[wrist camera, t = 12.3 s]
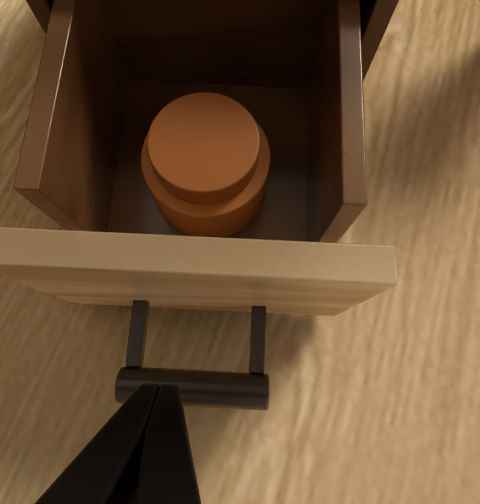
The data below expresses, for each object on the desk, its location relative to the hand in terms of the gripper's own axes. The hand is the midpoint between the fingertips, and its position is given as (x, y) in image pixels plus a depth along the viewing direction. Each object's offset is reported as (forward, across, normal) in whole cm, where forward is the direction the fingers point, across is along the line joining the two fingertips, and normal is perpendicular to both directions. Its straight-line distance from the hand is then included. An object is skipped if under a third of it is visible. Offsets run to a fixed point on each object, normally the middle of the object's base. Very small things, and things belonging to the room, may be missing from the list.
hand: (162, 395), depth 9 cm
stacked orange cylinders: (+12, 0, -1) cm, 12 cm away
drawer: (+12, 0, +1) cm, 12 cm away
